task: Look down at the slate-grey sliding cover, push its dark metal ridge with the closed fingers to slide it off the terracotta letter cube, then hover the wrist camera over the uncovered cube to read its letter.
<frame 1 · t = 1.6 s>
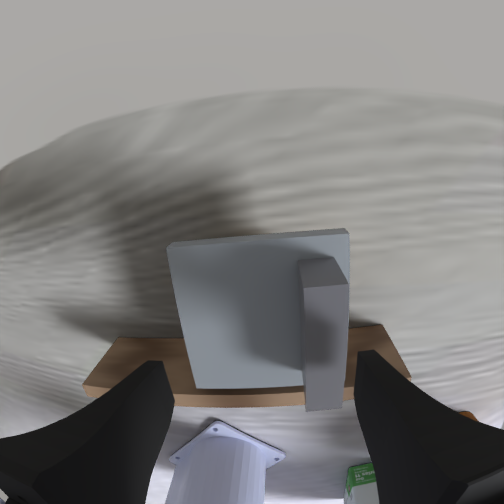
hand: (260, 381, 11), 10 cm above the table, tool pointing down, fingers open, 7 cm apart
ink box: (365, 479, 28), on the table
walnut track wall: (266, 275, 21), on the table
slate cover: (263, 334, 14), point 7 cm above the table, slide at 0.0 cm
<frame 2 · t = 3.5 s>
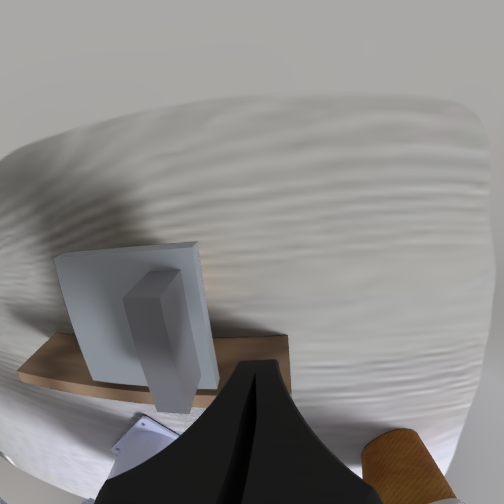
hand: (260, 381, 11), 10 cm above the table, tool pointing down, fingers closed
walnut track wall: (166, 282, 21), on the table
slate cover: (123, 337, 14), point 7 cm above the table, slide at 0.0 cm
disposable coffee cup: (390, 446, 26), on the table
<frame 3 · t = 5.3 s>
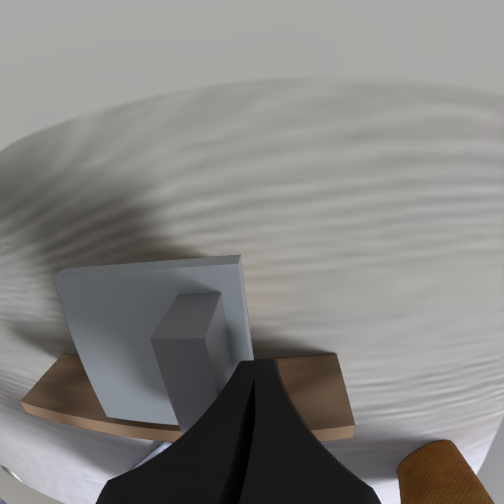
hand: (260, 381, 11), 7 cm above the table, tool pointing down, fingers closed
walnut track wall: (196, 298, 18), on the table
slate cover: (146, 375, 11), point 7 cm above the table, slide at 0.5 cm, touching gripper
disposable coffee cup: (426, 458, 22), on the table
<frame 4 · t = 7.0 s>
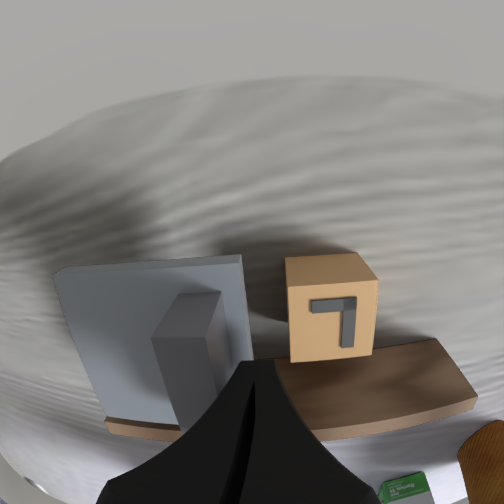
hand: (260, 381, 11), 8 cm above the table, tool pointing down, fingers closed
ink box: (395, 492, 25), on the table
walnut track wall: (322, 289, 18), on the table
slate cover: (146, 374, 11), point 7 cm above the table, slide at 7.6 cm, touching gripper
disposable coffee cup: (481, 439, 22), on the table
letter cube: (321, 288, 18), on the table
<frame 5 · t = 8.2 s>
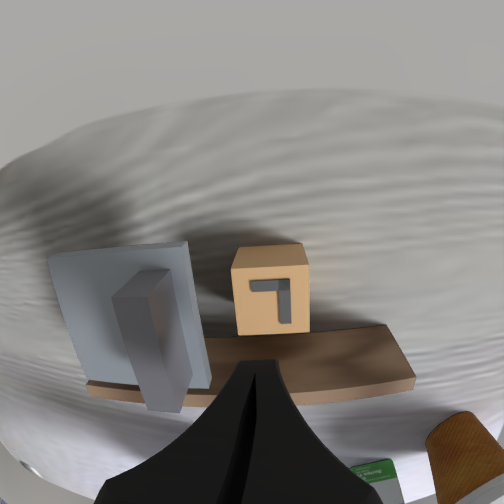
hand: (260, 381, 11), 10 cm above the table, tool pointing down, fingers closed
ink box: (366, 479, 28), on the table
walnut track wall: (272, 275, 21), on the table
slate cover: (115, 336, 14), point 7 cm above the table, slide at 7.6 cm
disposable coffee cup: (450, 430, 25), on the table
letter cube: (272, 274, 21), on the table
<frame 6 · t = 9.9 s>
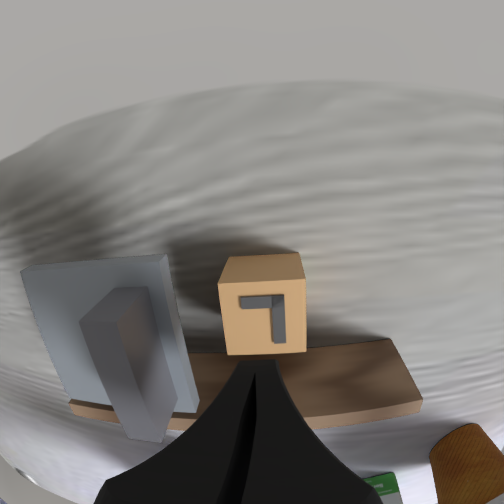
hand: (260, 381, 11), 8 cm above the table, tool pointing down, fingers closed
ink box: (367, 492, 26), on the table
walnut track wall: (266, 287, 19), on the table
slate cover: (92, 357, 13), point 7 cm above the table, slide at 7.6 cm
disposable coffee cup: (455, 442, 23), on the table
letter cube: (266, 286, 19), on the table
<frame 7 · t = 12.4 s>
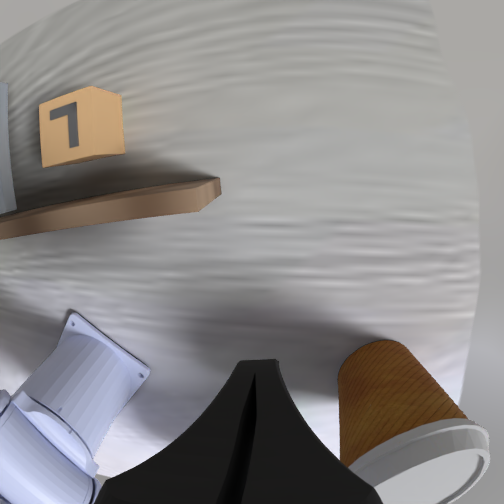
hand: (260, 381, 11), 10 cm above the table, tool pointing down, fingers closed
walnut track wall: (97, 129, 18), on the table
disposable coffee cup: (375, 371, 23), on the table
letter cube: (97, 130, 18), on the table
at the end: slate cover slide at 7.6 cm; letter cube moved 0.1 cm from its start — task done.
